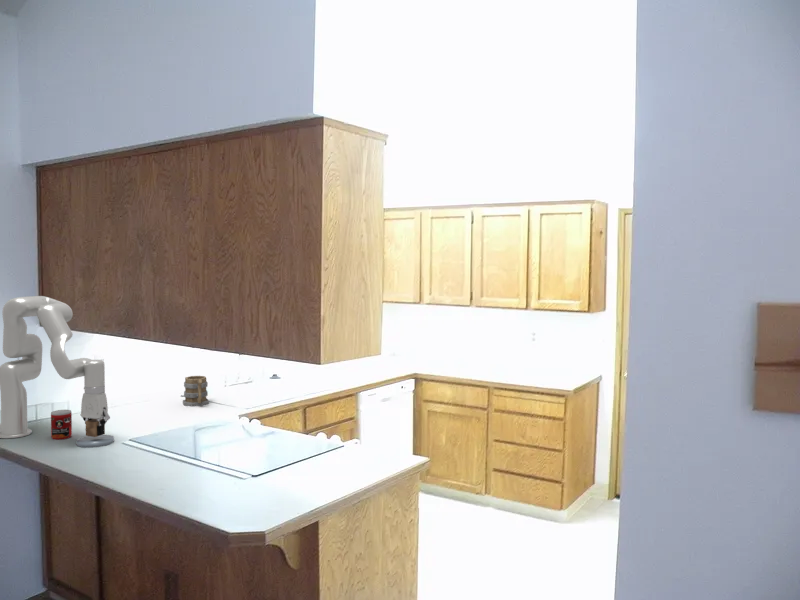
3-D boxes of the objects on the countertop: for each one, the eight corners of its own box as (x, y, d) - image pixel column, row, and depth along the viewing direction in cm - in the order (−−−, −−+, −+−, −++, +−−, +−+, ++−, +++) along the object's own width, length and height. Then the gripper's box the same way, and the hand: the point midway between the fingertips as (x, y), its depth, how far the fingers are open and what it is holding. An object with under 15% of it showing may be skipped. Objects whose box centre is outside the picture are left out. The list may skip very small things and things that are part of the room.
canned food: (49, 440, 267) (48, 414, 266) (53, 435, 274) (53, 409, 274) (69, 439, 269) (69, 413, 268) (73, 434, 276) (73, 409, 276)
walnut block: (85, 435, 263) (85, 421, 262) (95, 432, 267) (95, 418, 267) (95, 436, 261) (95, 422, 261) (104, 433, 266) (104, 419, 265)
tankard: (181, 402, 342) (181, 374, 341) (206, 400, 347) (206, 372, 346) (186, 410, 324) (186, 380, 323) (212, 408, 329) (212, 379, 328)
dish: (68, 445, 260) (68, 441, 260) (95, 436, 273) (95, 433, 273) (94, 449, 255) (94, 445, 255) (121, 440, 268) (121, 436, 268)
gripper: (71, 390, 263) (72, 434, 264) (103, 393, 257) (104, 438, 258) (86, 386, 270) (86, 429, 271) (118, 390, 264) (118, 434, 265)
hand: (95, 433), depth 264 cm, fingers closed on walnut block, 5 cm apart
